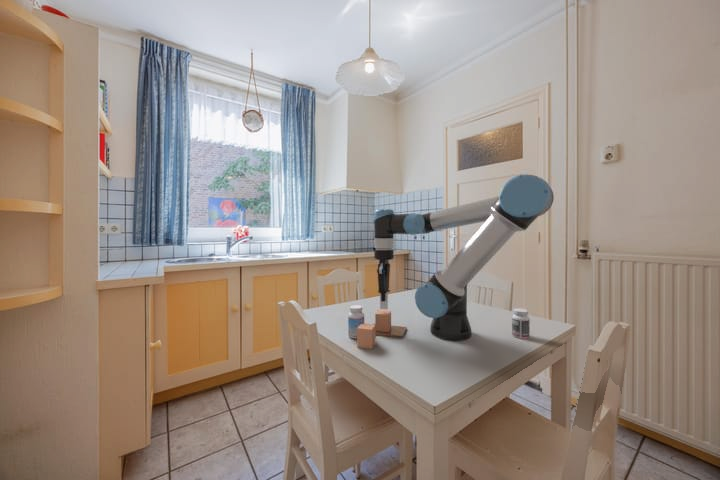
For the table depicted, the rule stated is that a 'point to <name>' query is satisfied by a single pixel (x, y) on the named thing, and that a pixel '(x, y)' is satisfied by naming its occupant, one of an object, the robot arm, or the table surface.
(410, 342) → the table surface
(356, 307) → the pill bottle
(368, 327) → the peach cardboard cube
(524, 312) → the pill bottle
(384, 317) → the salmon pink cube
